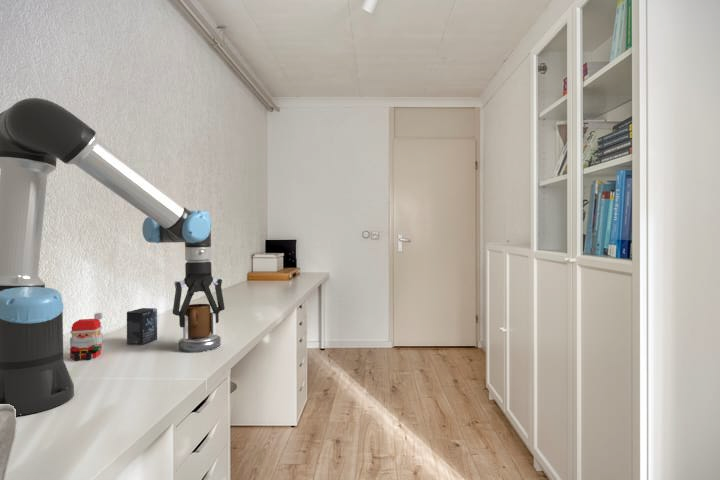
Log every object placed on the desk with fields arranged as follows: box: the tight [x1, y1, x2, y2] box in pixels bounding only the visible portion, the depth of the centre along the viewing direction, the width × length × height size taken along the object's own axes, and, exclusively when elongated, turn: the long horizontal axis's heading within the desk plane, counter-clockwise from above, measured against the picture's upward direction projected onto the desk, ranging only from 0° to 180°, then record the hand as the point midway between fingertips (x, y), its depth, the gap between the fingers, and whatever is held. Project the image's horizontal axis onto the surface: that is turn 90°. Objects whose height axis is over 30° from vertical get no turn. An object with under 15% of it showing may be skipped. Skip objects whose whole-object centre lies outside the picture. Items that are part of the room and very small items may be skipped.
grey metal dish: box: [178, 333, 221, 353], centre depth 135 cm, size 12×12×3 cm
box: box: [126, 307, 158, 346], centre depth 143 cm, size 8×6×11 cm
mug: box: [185, 303, 212, 338], centre depth 134 cm, size 12×8×9 cm, turn 10°
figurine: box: [69, 312, 103, 362], centre depth 125 cm, size 8×7×12 cm
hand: (199, 335), depth 135 cm, fingers closed on mug, 7 cm apart
